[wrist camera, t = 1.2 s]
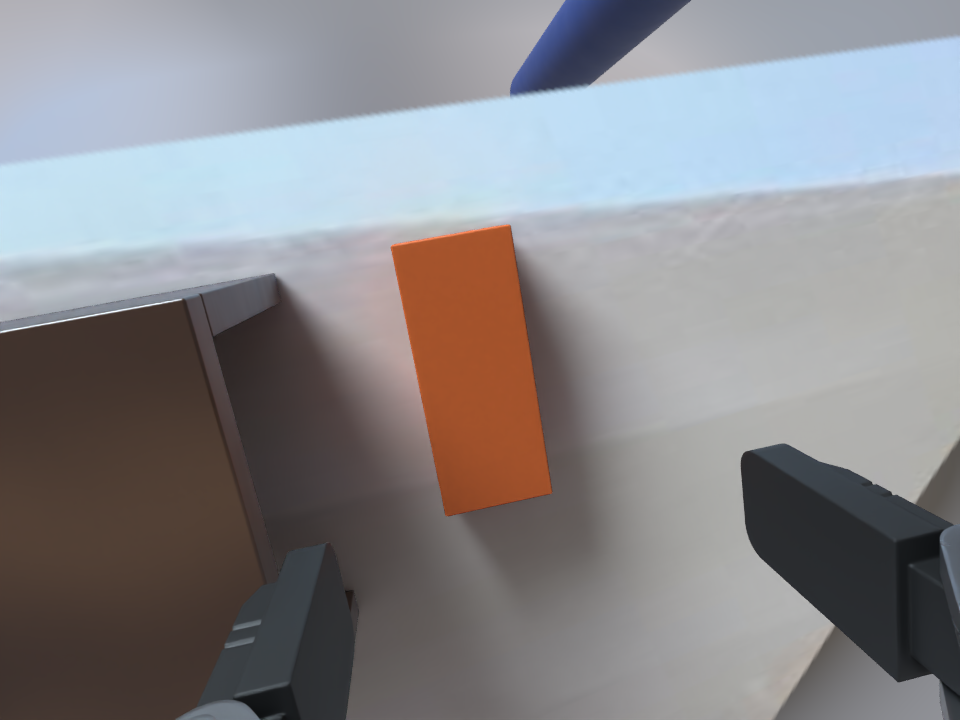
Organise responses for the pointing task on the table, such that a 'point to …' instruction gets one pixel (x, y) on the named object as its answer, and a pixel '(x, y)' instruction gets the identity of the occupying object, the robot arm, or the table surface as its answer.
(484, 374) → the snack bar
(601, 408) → the table surface
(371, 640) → the table surface
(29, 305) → the table surface
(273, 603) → the robot arm
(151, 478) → the shelf
